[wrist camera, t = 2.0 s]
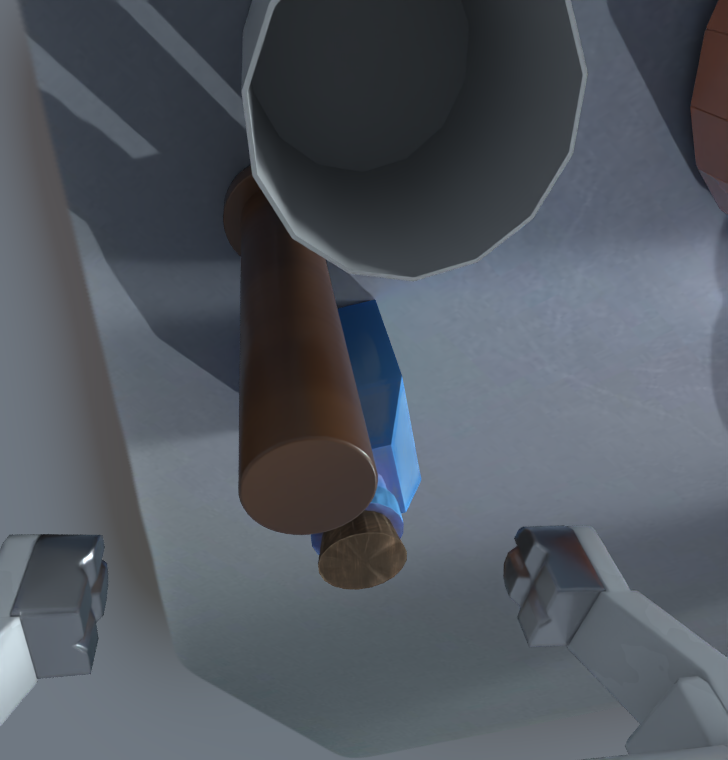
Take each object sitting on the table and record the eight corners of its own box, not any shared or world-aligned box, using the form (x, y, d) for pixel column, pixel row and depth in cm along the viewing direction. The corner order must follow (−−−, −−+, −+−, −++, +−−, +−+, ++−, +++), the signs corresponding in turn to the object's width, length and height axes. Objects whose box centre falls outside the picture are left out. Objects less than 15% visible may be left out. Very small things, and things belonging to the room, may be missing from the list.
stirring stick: (201, 214, 25) (159, 504, 13) (273, 135, 24) (306, 372, 11) (281, 278, 27) (312, 578, 15) (350, 210, 26) (450, 477, 13)
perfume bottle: (394, 397, 33) (456, 589, 23) (282, 424, 33) (299, 629, 23) (375, 299, 29) (439, 482, 19) (249, 330, 29) (251, 528, 19)
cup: (497, -50, 21) (646, -36, 13) (434, 181, 26) (518, 293, 18) (254, -116, 19) (261, -144, 11) (233, 149, 24) (227, 259, 16)
